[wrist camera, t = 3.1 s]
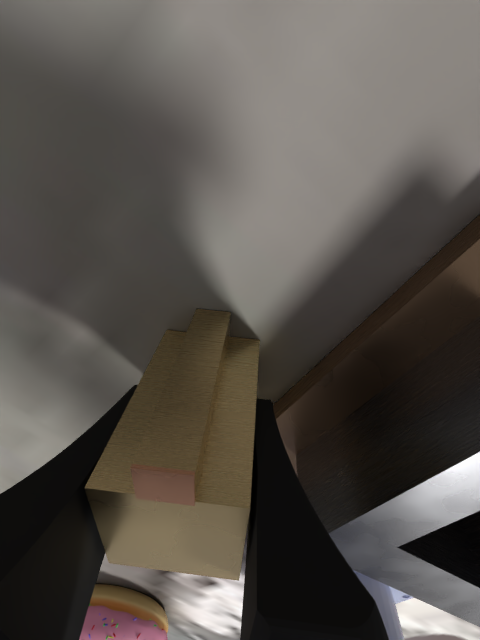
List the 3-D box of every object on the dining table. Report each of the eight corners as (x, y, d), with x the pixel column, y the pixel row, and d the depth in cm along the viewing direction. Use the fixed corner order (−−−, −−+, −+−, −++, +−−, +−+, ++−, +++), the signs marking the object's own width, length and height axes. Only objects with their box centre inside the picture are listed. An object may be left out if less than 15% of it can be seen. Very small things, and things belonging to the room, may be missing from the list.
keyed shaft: (251, 406, 16) (238, 584, 9) (171, 397, 16) (107, 567, 10) (262, 315, 13) (254, 483, 7) (165, 305, 13) (72, 460, 7)
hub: (427, 541, 20) (469, 653, 16) (233, 442, 17) (220, 550, 13) (723, 414, 13) (943, 552, 9) (494, 200, 10) (668, 256, 6)
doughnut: (186, 624, 33) (176, 685, 29) (90, 619, 35) (70, 675, 31) (154, 577, 27) (136, 644, 24) (42, 574, 29) (11, 636, 26)
